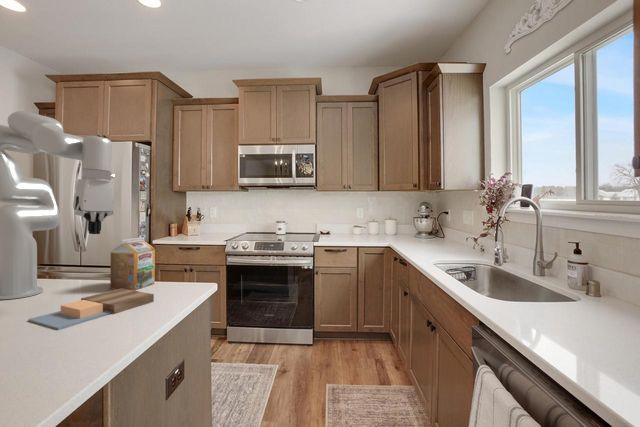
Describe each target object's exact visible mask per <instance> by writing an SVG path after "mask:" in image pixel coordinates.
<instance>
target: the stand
mask: <svg viewBox="0 0 640 427" xmlns="http://www.w3.org/2000/svg"><path fill="white" fill-rule="evenodd" d="M154 296H155V294H154V293H149V292H144V291H139V290H135V291H133V290H128V289H122V288H121V289H112V290H109V291H105V292H102V293H97V294H92V295H89V296H84V297H81V298H80V300H87V301H92V302H97V303H102V304H103V310H106V311H110V312H112V314H113V315H115V314H119V313H122V312H125V311H128V310H130V309H135V308H137V307H141V306H144V305H148V304H150V303H153V302H155V298H154Z"/></svg>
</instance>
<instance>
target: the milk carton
mask: <svg viewBox="0 0 640 427" xmlns="http://www.w3.org/2000/svg"><path fill="white" fill-rule="evenodd" d="M155 257H156V250H155V248H154V247H153V246H152V245H151V244H149V243H148V242H146V241H145V237H144V236H143V237H133V238H126V239H122V240H121V243H120V244H119V245H117V246H115V248H113V249H112V250H111V251H110V264H109V265H110V269H109V270H110V273H109V274H110V275H109V276H110V280H109V281H110V288H109V289H111V290H117V289H121V288H122V289H128V290H133V291H139V290H140V289H144V288H146V287H151V286H153V285H155V283H154V282H156V281H155V278H156V276H155V274H156V272H155V271H156V270H155V268H156V261H155V260H156V258H155Z"/></svg>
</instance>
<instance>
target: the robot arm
mask: <svg viewBox="0 0 640 427" xmlns="http://www.w3.org/2000/svg"><path fill="white" fill-rule="evenodd" d="M7 124H8V125H3V124H0V202H1V203H7V205H2V206H0V300H15V299H22V298H28V297H31V296H35V295H39V294H41V293H42V292H43V291H44V288H43V287H41V286H38V244H37V241H36V239H35V238H34V237H33V235H32V234H31V233H30V232H36V231H39V232H40V231H51V230H53V229H56V228H57V227H58V226H59V225H60V222H61V213H60V210H59V207H58V203H57V199H56V197H55V196H56V195H55V193H54V190H53V188H52V186H51V185H50V184H49V182H47V181H46V180H45V179H41V178H36V177H28V176H24V174H22V171H21V167H20V165H19V163H18V162H17V161H16V160H15V159H14V158H13V156H11V155H9V153H7V152H6V151H8V152H9V151H10V152H15V153H22V154H30V155H35V154H39V153H41V152H43V153H46V154H48V155H50V156H53V157H57V158H65V159H71V160H76V161H81V172H80V174H81V175H80V178H79V179H77V181H76V185H75V188H74V195H73V200H72V201H73V203H72V207H73V210H74V215H76V216H80V217H83V218H84V219H85V221H87V231H88V234H90V235H100V234H101V231H102V223H103V221H104V219H105V218H107V217H109V216H110V217H111V216H113V215H115V214H114V210H115V207H116V206H115V204H116V203H115V202H116V199H115V188H114V183H113V181H111V180H112V179H115V174H113V173H112V153H113V152H112V151H113V149H112V148H113V146H112V145H113V143H112V141H111V140H110V139H109V138H107V137H103V136H97V135H86V136H84V137H83V136H79V135H74V134H70V133H66V132H64V127H63V124H62V123H61V122H60V121H58V120H57V119H55V118H53V117H50V116H46V115H42V114H38V113H33V112H30V111H25V110H19V111H14V112H12V113H10V114H9V116H8V117H7Z"/></svg>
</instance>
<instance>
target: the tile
mask: <svg viewBox="0 0 640 427" xmlns="http://www.w3.org/2000/svg"><path fill="white" fill-rule="evenodd" d="M60 311H61V314H64V315H68V316H72V317H76V318H84V317H87V316H90V315H94V314H97V313H100V312H103V304H102V303H97V302H92V301H87V300H81V299H80V300H78V301H77V300H76V301H72V302H69V303H65V304H60Z"/></svg>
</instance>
